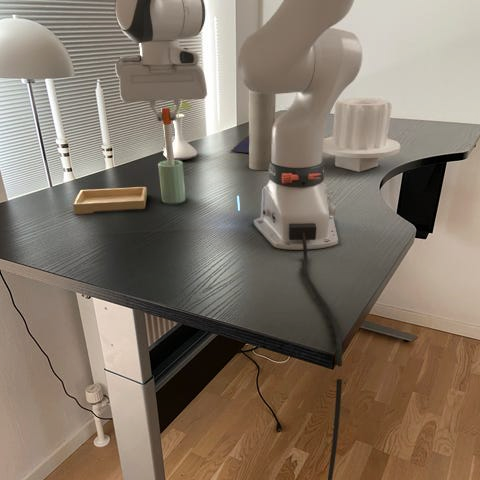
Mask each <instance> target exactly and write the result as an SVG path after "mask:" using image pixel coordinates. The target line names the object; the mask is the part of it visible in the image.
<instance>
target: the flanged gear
mask: <svg viewBox="0 0 480 480" xmlns="http://www.w3.org/2000/svg"><path fill="white" fill-rule="evenodd" d="M392 107H393V106H392V103H391V102H390V101H389V100H386V99H381V98H372V97H371V98H369V97H353V98H352V97H351V98H343V99H340V100H337V101H336V102H335V104H334V115H333V116H334V117H333V127H332V136H329V137H324V143H323V153H324V154H328V155H331V156H335V158H334V167H337V168H341V169H346V170H349V171H354V172H359V173H360V172H364V171H367V170H370V169H373V168H376V167H378V166H379V161H380V158H386V157H390V156H391V157H392V156H394V155H397V154H398V153H399V152H400V151H401V144H400V142H398V141H396V140H394V139H391V138H388V136H389V135H388V134H389V128H390V122H391V113H392Z"/></svg>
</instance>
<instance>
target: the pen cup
mask: <svg viewBox="0 0 480 480" xmlns="http://www.w3.org/2000/svg"><path fill="white" fill-rule="evenodd" d="M157 167H158V178H159V186H160V195H161V201H162V202H163V203H165V204H179V203H184V202H185V201H186V198H187V197H186V187H185V174H184V173H185V172H184V162H183V161H182V160H174V165H173V166H167V159H166V160H162V161H160V162H158V163H157Z"/></svg>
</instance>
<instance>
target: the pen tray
mask: <svg viewBox="0 0 480 480" xmlns="http://www.w3.org/2000/svg"><path fill="white" fill-rule="evenodd" d="M78 192H79V193H78V194H77V196H76V198H75V200H74V201H73V203H72V207H73V211H74V215H86V214H94V212H104V211H105V212H106V211H122V210H123V211H125V210H142V209H143V210H144V209H146V203H147V198H148V191H147V186H135V187H117V188H97V189H80V191H78Z"/></svg>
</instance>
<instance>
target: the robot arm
mask: <svg viewBox="0 0 480 480" xmlns="http://www.w3.org/2000/svg"><path fill="white" fill-rule="evenodd" d="M354 2H355V0H283V1H282V2H281V3H280V5H279V6H278V7H277V9H276V11H274V13H273V15H272V16H271V17H270V18H269V19H268V21H266V22H265V23H264V24H263V25H262V26H261V27H260V28H259V29H257V30H256V31H254V32H253V33H251V34H250V35H248V36H247V37H246V38H245V40H244V41H243V43H242V44H241V46H240V49H239V52H238V58H237V67H238V73H239V77H240V79H241V81H242V82H243V84H244V85H245V87H246V88H247V90H251V91H255V92H260V93H267V94H276V95H280V94H293V93H295V96H294V100H293V102H292V104H291V105H290V107H288V109H286V111H284V112H282V114H280V115H279V116H278V117H277V118H275V122H274V124H273V127H272V151H271V161H270V162H269V170H268V178H269V180H268V181H267V183H266V184H265V185H264V186H263V188H262V189H261V205H260V217H257V218H255V219H253V226H254V227H255V228H256V229H257V230H258V231H259V233H261V234H262V236H263V237H265V239H266V240H267V241H268V242H269V243H270V245H272V246H273V247H274V248H276V249H281V250H290V251H291V250H293V251H295V250H296V251H299V250H300V251H301V250H303V264H302V272H303V273H302V274H303V276H304V279H305V280H306V282H307V284H308V286H309V288H310V289H311V290H312V292H313V294H314V296H315V297H316V299H317V300H318V302H319V303H320V304H321V306H322V307H323V308H324V310H325V312H326V314H327V316H328V318H329V320H330V323H331V326H332V329H333V333H334V338H335V341H336V366H337V367H339V368H340V367H342V366H343V345H342V339H341V334H340V329H339V326H338V323H337V321H336V318H335V316H334V313H333V312H332V310H331V308H330V307H329V305H328V303H327V302H326V301H325V299H324V298H323V297H322V295H321V294H320V292H319V290H318V289H317V288H316V286H315V285H314V283H313V281H312V280H311V278H310V276H309V274H308V250H316V249H317V250H319V249H324V248H329V247H333V246H336V245H338V244H339V237H338V233H337V229H336V223H335V219H334V216H336V205H334V204H329V202H330V201H331V198H332V197H331V194H328V193H327V185H326V182H324V180H325V176H324V175H325V166H324V165H325V164H324V161H323V153H324V152H323V143H324V139H325V135H326V134H325V133H326V128H327V124H328V120H329V117H330V115H331V112H332V109H333V108H334V107H335V105H336V103H337V101H338V99H339V98H340V96H341V94H342V93H343V92H344V91H345V89H346V88H347V87H349V85H350V84H352V83H353V82H354V81H355V80H356V78H357V76H358V75H359V72H360V71H361V67H362V63H363V48H362V45H361V42H360V39H359V38H358V36H357V35H356V34H355V33H353V32H350V31H347V30H344V29H340V28H334V26H335V25H337V24H339V22H341V21H342V20H343V19H345V17H346V16H347V15H348V14H349V12H350V11H351V9H352V7H353V5H354ZM114 15H115V20H116V23H117V25H118V27H119V29H120V31H122V32H123V34H124V35H125V36H126V37H128V38H129V39H130V40H131V41H132V42H133V43H135V44H139V53H140V55H133V56H120V58H119V59H117V60H116V61H115V64H114V65H115V73H116V76H117V78H118V79H119V96H120V99H121V100H122V101H123V102H124V103H132V102H134V103H135V102H149V107H150V108H151V110H152V111H153V113H154V114H155V120H156V122H163V120H162V111H161V112H159V111H158V108H156V106H157V102H158V101H159V102H160V101H173V106H175V109H174V110H173V111H170V120H171V122H173V121H177V118H176V114H178V113H177V112H178V111H177V110H178V108H180V106H181V101H182V100H183V101H185V100H186V101H188V99H194V100H204V99H206V98H207V96H208V88H207V82H206V75H205V72H204V70H203V69H204V68H203V67H202V66H201V65H200V64H199V63H200V59H201V58H200V54H199V53H198V52H197V51H194V50H191V49H189V48H187V47H181V46H180V40H183V39H184V40H185V39H191V38H194V37H198V35H199V34H200V33H201V32H202V30H203V28H204V25H205V21H206V5H205V1H204V0H115V2H114ZM179 39H180V40H179ZM236 198H237V211H239V212H240V211H241V210H240V208H241V207H240V206H241V205H240V196H239V195H237V197H236ZM342 384H343V379H342V378H340V379H336V389H335V405H334V417H333V418H334V419H333V430H332V441H331V449H330V450H331V451H330V457H329V458H330V459H329V466H328V473H327V480H333V477H334V470H335V463H336V456H337V446H338V439H339V438H338V437H339V428H340V414H341V403H342V386H343V385H342Z"/></svg>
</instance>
